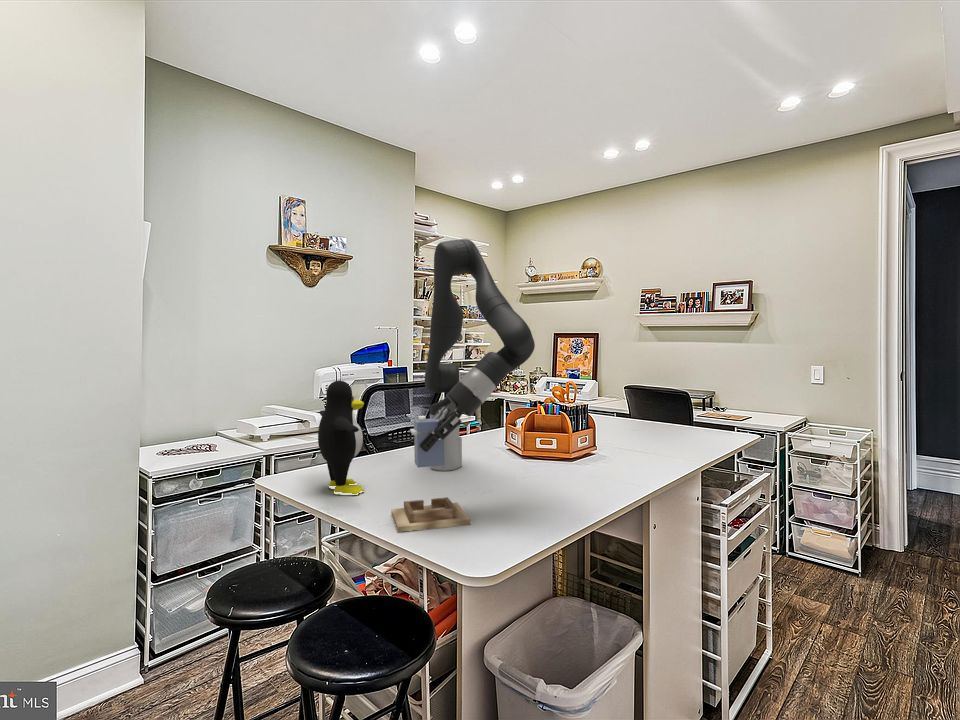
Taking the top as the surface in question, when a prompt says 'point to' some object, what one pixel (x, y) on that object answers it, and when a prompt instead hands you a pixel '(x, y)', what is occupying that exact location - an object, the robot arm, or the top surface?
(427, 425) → the servo block
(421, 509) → the wooden fixture board
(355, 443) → the toy
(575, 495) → the top surface
